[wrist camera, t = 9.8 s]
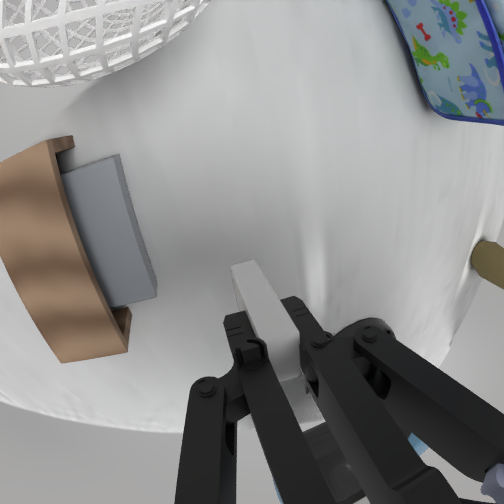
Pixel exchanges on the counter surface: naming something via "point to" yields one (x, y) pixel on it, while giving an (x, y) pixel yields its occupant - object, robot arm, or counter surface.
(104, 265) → the panel
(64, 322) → the walnut tunnel
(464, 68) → the lunch box
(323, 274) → the counter surface
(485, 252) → the squeeze bottle
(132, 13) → the heart
